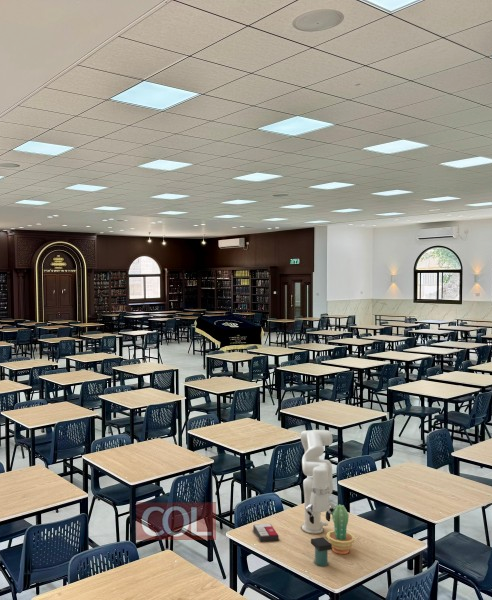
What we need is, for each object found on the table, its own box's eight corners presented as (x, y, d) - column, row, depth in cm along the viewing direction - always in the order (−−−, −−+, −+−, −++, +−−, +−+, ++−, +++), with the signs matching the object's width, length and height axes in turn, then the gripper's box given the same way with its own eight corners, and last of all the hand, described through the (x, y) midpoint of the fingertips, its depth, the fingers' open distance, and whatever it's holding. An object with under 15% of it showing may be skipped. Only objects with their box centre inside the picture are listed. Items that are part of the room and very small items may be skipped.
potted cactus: (343, 541, 319) (343, 499, 319) (361, 553, 305) (361, 509, 304) (320, 546, 314) (320, 502, 313) (337, 558, 300) (337, 513, 299)
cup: (323, 559, 299) (323, 542, 299) (329, 565, 293) (329, 548, 293) (312, 560, 297) (312, 544, 297) (318, 566, 291) (318, 549, 291)
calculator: (260, 535, 319) (253, 523, 334) (260, 542, 320) (253, 530, 334) (278, 534, 321) (270, 522, 336) (278, 541, 321) (270, 529, 336)
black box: (323, 541, 300) (323, 537, 300) (331, 549, 291) (331, 544, 291) (310, 543, 298) (310, 538, 298) (319, 551, 289) (319, 546, 289)
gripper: (330, 486, 302) (330, 516, 303) (302, 489, 297) (302, 520, 298) (338, 491, 295) (337, 522, 295) (309, 494, 290) (308, 526, 291)
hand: (319, 521), depth 297 cm, fingers open, 9 cm apart
